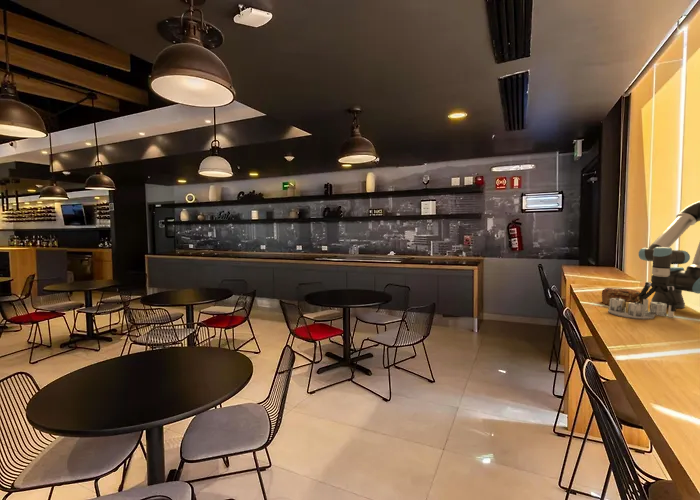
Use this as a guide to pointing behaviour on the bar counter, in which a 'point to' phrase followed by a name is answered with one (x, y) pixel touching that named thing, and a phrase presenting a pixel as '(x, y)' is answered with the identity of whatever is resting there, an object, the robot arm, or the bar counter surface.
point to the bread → (621, 295)
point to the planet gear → (658, 308)
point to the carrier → (629, 309)
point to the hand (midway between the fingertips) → (657, 313)
